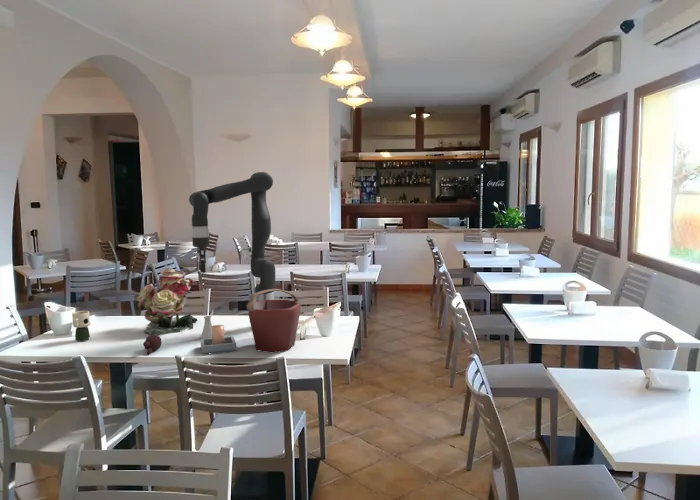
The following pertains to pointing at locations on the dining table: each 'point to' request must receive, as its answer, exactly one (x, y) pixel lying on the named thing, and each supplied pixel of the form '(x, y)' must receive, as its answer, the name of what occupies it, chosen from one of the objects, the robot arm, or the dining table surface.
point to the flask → (207, 328)
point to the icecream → (152, 343)
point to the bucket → (273, 322)
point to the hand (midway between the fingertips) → (202, 271)
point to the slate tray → (218, 345)
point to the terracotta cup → (217, 334)
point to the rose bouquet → (166, 303)
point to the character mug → (81, 325)
